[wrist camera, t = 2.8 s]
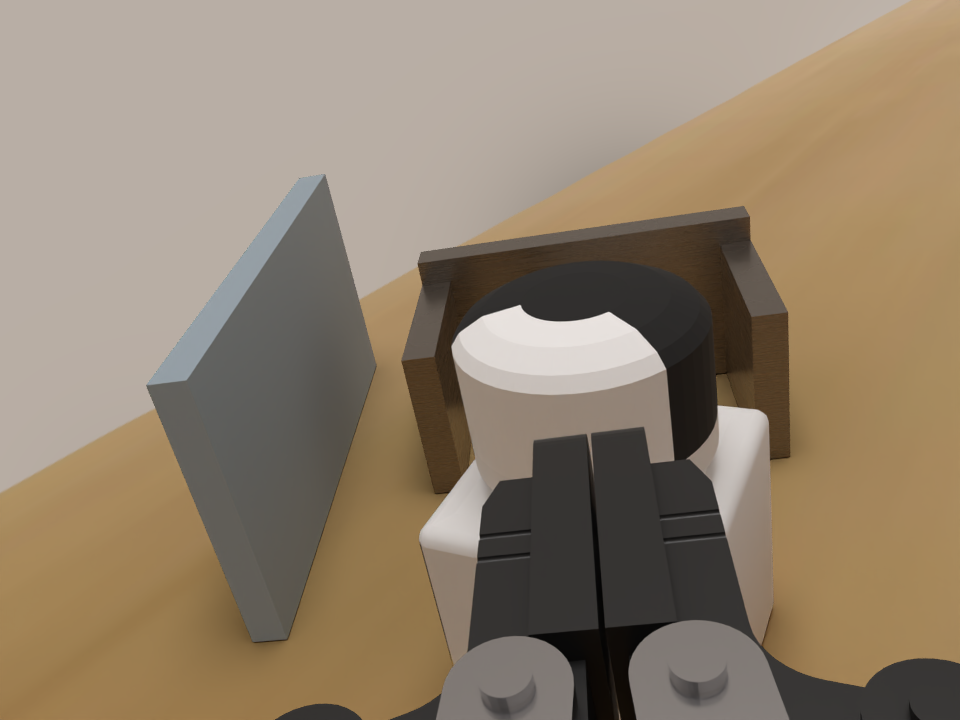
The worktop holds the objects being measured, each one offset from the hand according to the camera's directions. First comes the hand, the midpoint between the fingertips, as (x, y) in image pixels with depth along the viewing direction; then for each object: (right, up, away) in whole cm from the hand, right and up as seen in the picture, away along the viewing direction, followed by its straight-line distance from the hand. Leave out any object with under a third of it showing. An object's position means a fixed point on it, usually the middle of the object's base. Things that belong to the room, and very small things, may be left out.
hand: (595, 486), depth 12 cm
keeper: (+3, -1, +25) cm, 25 cm away
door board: (-8, -3, +25) cm, 27 cm away
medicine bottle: (+3, -7, +14) cm, 16 cm away
